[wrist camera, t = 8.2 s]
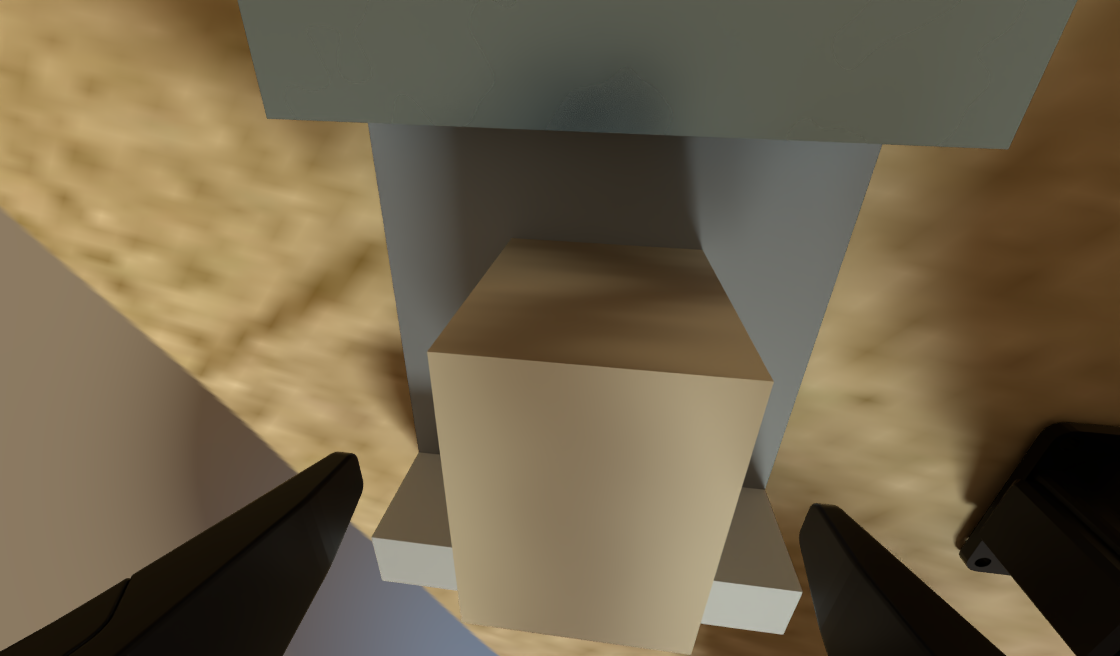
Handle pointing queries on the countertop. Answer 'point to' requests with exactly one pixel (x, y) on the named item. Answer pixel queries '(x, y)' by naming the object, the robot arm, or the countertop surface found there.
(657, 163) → the vise bed
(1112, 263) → the countertop surface
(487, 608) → the oak block
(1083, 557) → the robot arm
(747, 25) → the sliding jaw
